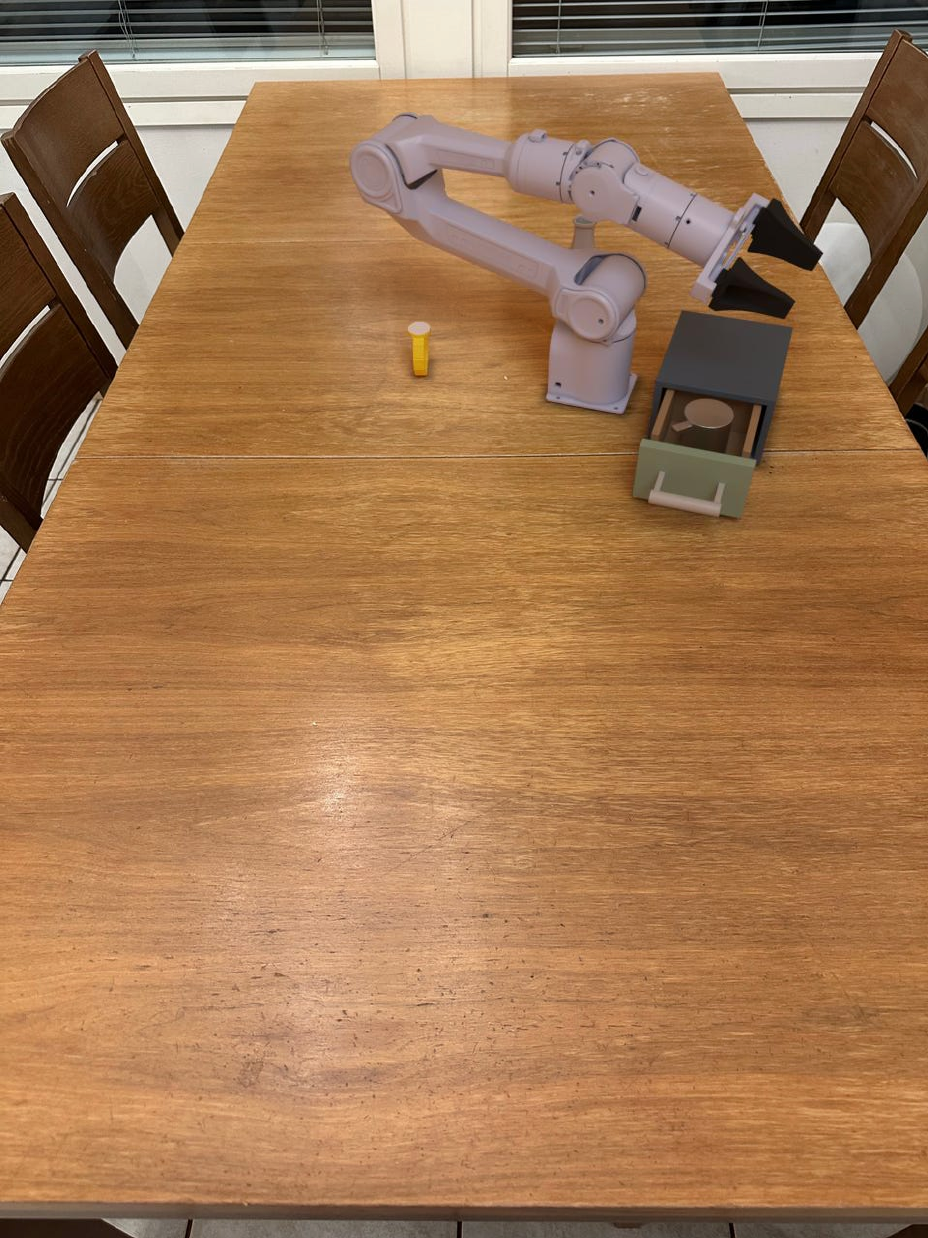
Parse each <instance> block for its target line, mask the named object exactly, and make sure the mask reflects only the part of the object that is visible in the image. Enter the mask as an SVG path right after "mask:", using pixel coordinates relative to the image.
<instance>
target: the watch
mask: <svg viewBox="0 0 928 1238" xmlns="http://www.w3.org/2000/svg"><path fill="white" fill-rule="evenodd" d="M431 333H432V331H431V325H430V324H429V323H428V322H425V321H415V322H412V323H410V324H409V325H408V327H407V336H408V337H409V338H411V339H412V365H413V374H414V375H415V376H419V377H420V376H427V375H428V367H429V337H430V336H431Z"/></svg>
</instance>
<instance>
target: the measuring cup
mask: <svg viewBox="0 0 928 1238" xmlns="http://www.w3.org/2000/svg"><path fill="white" fill-rule="evenodd" d="M733 417H734V414H733V411H732V409H731V408H730V407H729V406H728V405H727V404H725V403H723V402H721V401H718V400H715V399H698V400H694V401H692V402H690V403H689V404H688V405H687V406H686V407H685V410H684V416H683V421H682V423H679V424H676V425H673V426H672V427H671V431H672V432H673V433H674V434H675V435H679V434H680V438H679V444H678V445H679V446H685V447H690V448H695V449H700V450H706V451H711V452H716V453H722V454H725V452H726V448H727V444H728V439H729V435H730V430H731V426H732V422H733Z"/></svg>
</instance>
